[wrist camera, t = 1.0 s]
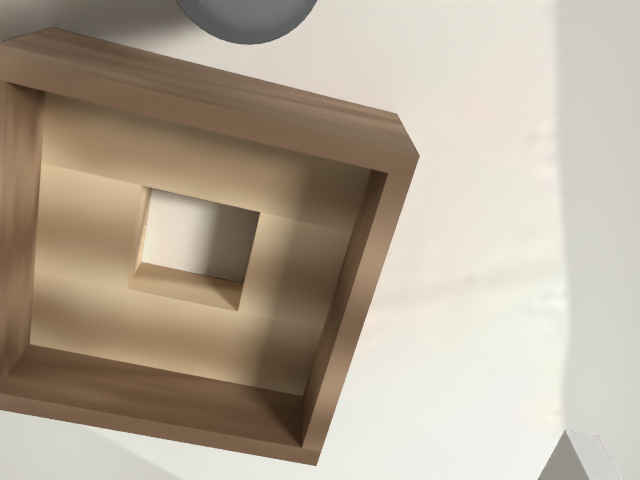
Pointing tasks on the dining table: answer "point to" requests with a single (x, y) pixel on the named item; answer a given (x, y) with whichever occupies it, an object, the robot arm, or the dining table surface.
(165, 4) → the dining table surface
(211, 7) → the peg
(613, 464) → the robot arm
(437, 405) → the dining table surface
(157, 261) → the dining table surface
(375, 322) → the dining table surface
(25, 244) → the box
